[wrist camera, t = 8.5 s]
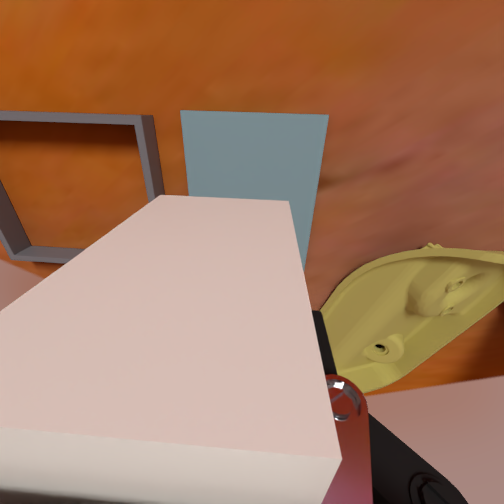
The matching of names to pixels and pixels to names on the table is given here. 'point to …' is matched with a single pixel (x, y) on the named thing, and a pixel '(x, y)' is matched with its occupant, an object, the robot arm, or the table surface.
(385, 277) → the plastic component
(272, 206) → the block
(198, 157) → the mat
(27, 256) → the grey rectangular frame
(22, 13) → the table surface
